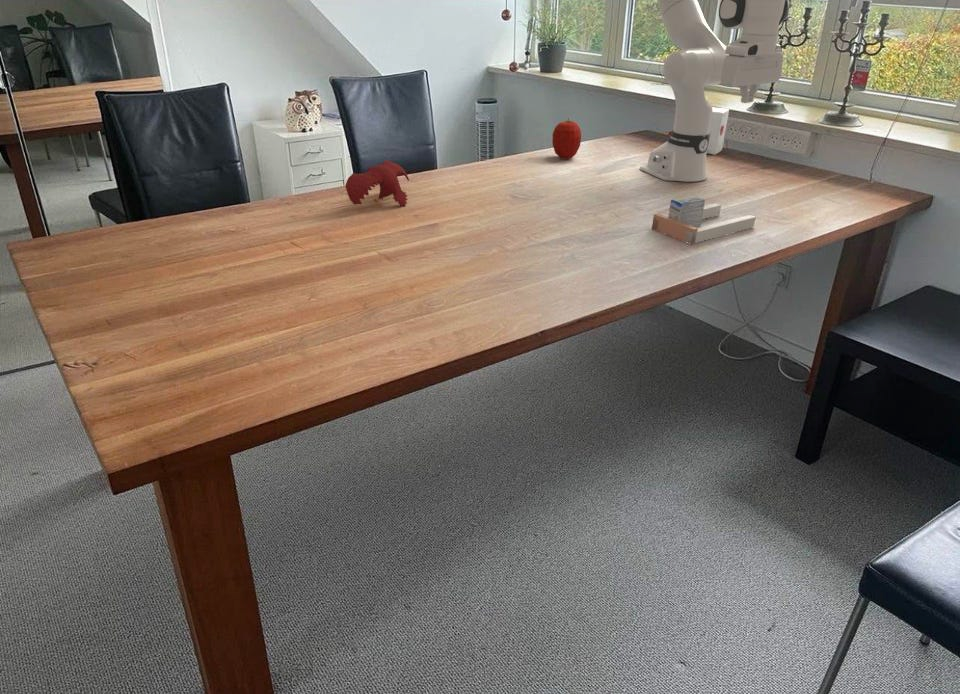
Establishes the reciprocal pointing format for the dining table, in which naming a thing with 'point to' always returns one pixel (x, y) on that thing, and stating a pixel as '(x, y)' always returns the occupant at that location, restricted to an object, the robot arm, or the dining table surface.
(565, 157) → the apple
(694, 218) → the medicine box
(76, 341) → the dining table surface
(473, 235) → the dining table surface
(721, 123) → the supplement box
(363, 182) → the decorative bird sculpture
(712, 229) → the shallow open rectangular tray
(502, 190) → the dining table surface
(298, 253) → the dining table surface
